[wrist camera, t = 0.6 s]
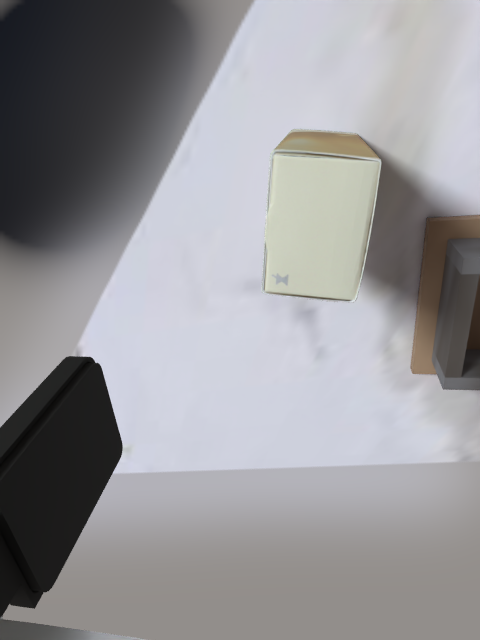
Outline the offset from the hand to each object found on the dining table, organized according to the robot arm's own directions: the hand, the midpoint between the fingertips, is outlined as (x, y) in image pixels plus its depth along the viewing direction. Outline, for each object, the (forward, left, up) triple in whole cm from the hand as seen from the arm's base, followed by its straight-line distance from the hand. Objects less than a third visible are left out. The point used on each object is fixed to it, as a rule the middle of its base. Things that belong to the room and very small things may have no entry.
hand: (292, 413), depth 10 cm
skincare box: (-1, -1, -22) cm, 22 cm away
